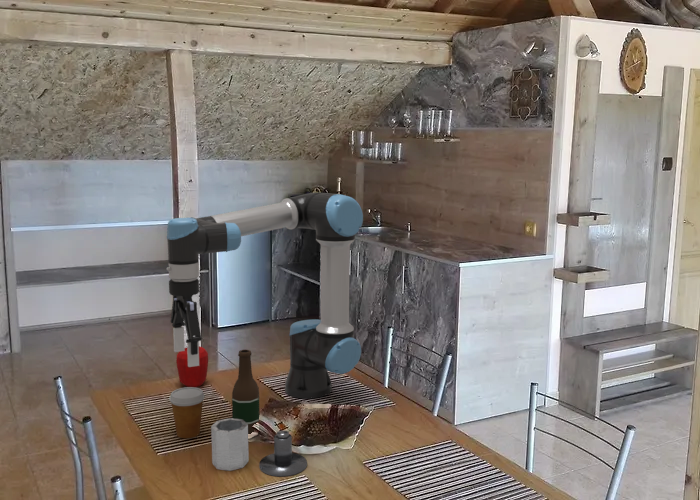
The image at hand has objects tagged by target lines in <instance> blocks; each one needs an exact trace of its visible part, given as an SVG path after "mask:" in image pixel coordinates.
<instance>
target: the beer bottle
mask: <svg viewBox="0 0 700 500" xmlns="http://www.w3.org/2000/svg"><path fill="white" fill-rule="evenodd" d="M237 356H238V358H239V359H238V377H237V379H236V381H235V383H234V384H233V385H234V386H233V388H232V393H231V409H232V415H231V418H234V419H242V420H244V421H245V422H246V423H247V424H248V434H251V433H252V432H254V429H253V428H252V426H253V425H254V424H256V423H257V422H259V417H260V413H261V411H260V390H259V386H258V383H257V382H256V380H255V379H254V377H253V369H252V359H251V356H252V351H251V350H250V349H241V350H238V354H237Z"/></svg>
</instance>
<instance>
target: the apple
mask: <svg viewBox="0 0 700 500" xmlns="http://www.w3.org/2000/svg"><path fill="white" fill-rule="evenodd" d="M175 361H176V367H177V373H178V379H179V383H181V384H182V385H184V387H195V388H199V387H201V386H202V385H203V384H204V383H205V382H206V380H207V375H208V368H209V353H208V351H207V350H206V349H205V348H204V347H203V346H199V366H193V367H188V354H187V347H185V351H180V352H177V354H176V360H175Z"/></svg>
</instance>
